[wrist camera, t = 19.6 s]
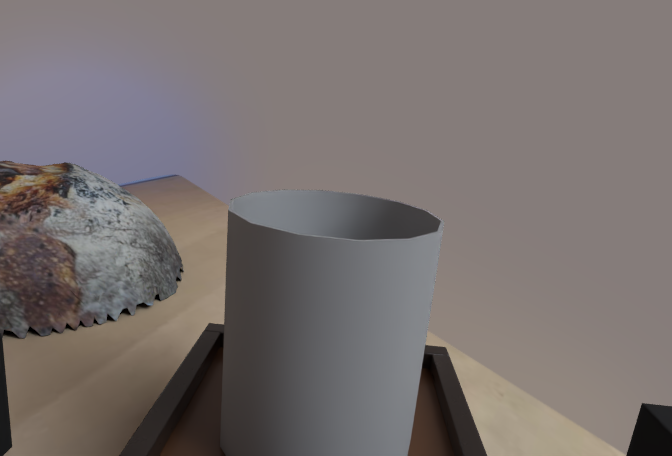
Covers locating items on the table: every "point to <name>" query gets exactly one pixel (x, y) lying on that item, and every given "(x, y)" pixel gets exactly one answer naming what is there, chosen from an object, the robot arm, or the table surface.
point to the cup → (324, 323)
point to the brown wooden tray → (206, 399)
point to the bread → (76, 249)
